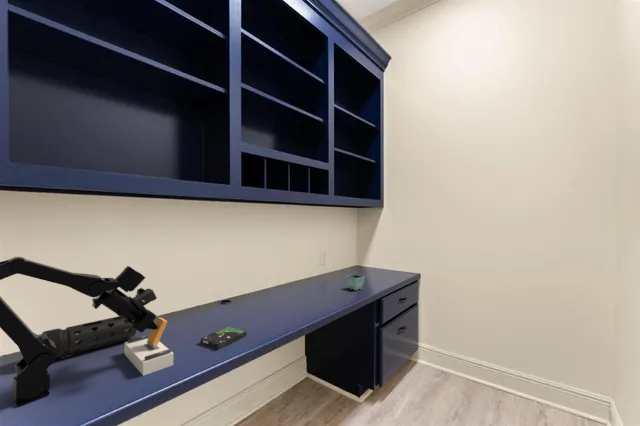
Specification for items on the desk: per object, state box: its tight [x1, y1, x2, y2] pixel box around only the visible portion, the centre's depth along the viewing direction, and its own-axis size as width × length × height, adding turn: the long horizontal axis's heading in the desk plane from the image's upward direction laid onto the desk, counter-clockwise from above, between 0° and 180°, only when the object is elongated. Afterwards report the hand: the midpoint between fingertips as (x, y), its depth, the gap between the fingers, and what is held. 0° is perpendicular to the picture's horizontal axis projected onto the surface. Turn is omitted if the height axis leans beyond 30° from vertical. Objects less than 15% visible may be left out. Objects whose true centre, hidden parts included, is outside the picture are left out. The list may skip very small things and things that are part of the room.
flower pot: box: [346, 274, 365, 291], centre depth 200 cm, size 9×9×9 cm
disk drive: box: [200, 325, 247, 351], centre depth 119 cm, size 10×3×15 cm
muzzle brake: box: [38, 315, 137, 359], centre depth 108 cm, size 10×28×10 cm, turn 139°
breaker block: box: [123, 333, 174, 376], centre depth 102 cm, size 9×20×5 cm, turn 47°
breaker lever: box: [147, 317, 169, 349], centre depth 104 cm, size 2×6×9 cm, turn 48°
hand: (156, 328), depth 104 cm, fingers closed, pressing on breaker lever
